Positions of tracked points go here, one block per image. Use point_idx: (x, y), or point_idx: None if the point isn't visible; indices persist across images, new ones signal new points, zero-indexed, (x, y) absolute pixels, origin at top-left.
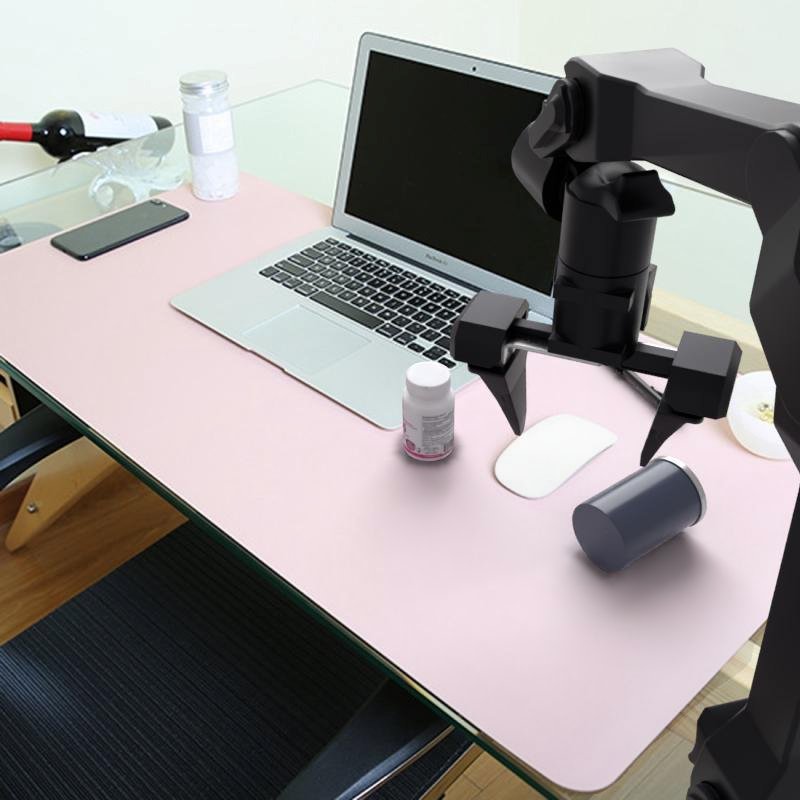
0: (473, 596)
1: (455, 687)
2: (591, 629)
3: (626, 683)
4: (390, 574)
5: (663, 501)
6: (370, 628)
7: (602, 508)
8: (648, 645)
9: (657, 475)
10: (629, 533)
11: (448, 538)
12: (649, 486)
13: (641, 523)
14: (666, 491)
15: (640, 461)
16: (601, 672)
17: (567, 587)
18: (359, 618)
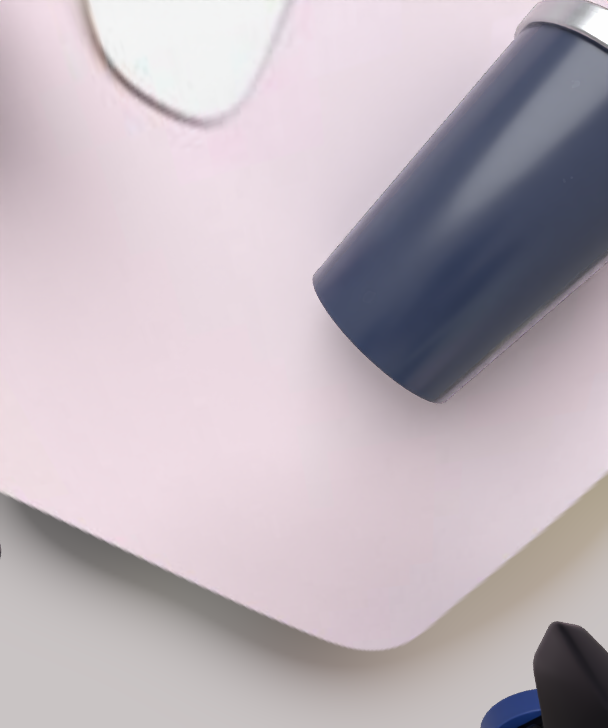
0: (176, 424)
1: (203, 568)
2: (380, 454)
3: (437, 534)
4: (30, 405)
5: (573, 274)
6: (56, 504)
7: (386, 361)
8: (476, 468)
9: (575, 179)
10: (458, 387)
11: (84, 300)
12: (537, 241)
13: (493, 355)
14: (593, 238)
15: (543, 719)
16: (399, 523)
17: (330, 375)
18: (32, 491)
